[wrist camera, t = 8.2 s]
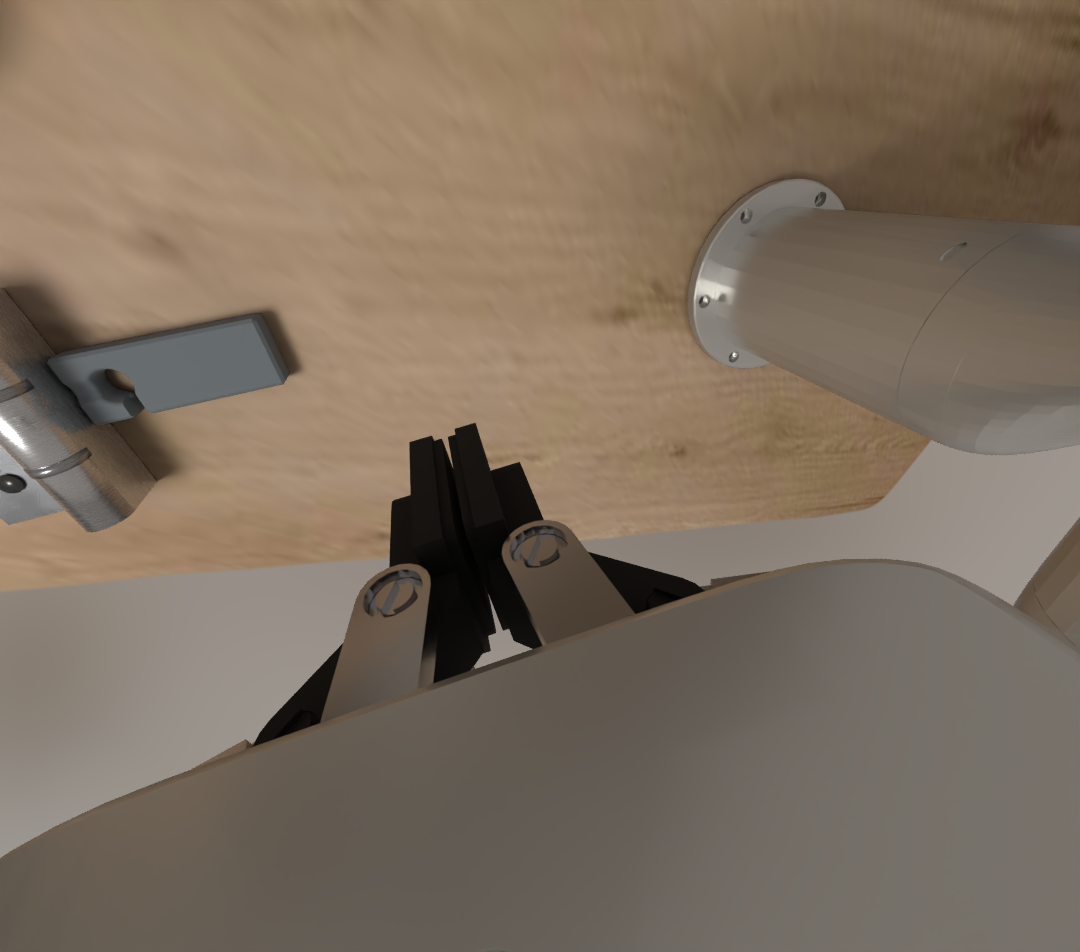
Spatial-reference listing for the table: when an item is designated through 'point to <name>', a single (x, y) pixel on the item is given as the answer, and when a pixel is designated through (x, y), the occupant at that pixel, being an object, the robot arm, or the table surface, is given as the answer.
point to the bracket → (173, 368)
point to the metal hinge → (56, 441)
